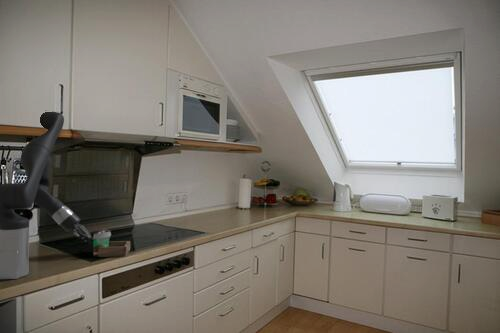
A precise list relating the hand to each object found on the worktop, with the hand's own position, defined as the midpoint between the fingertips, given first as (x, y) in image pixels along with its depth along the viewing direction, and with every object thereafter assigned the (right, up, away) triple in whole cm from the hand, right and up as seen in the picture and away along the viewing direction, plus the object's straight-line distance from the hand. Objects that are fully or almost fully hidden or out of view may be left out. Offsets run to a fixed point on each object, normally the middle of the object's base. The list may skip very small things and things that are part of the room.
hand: (95, 244), depth 157 cm
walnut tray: (+9, -4, +1) cm, 10 cm away
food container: (+3, -4, 0) cm, 5 cm away
